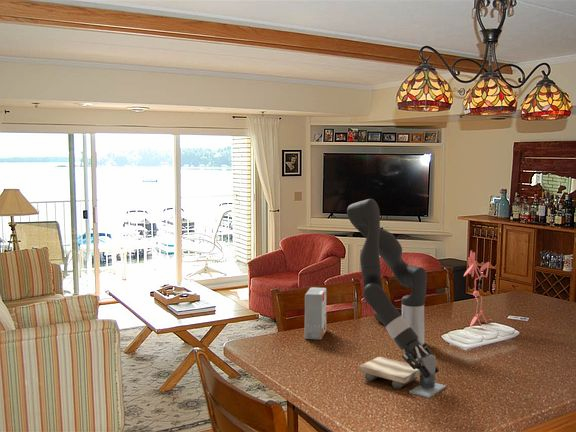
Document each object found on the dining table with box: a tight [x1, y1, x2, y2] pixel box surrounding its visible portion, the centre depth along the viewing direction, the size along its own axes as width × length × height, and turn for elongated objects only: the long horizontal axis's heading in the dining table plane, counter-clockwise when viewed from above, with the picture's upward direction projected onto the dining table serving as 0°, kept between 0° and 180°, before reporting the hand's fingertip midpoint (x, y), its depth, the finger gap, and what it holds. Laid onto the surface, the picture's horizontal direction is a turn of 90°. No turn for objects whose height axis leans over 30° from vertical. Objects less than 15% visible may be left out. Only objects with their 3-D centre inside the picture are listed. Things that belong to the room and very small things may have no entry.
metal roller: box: [419, 354, 437, 388], centre depth 196 cm, size 5×5×10 cm
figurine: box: [455, 250, 492, 329], centre depth 274 cm, size 15×26×35 cm, turn 148°
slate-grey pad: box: [409, 382, 447, 399], centre depth 197 cm, size 12×7×1 cm, turn 138°
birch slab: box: [358, 356, 420, 390], centre depth 205 cm, size 13×18×5 cm
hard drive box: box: [304, 286, 327, 341], centre depth 260 cm, size 16×8×20 cm, turn 168°
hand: (432, 374), depth 195 cm, fingers closed on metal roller, 5 cm apart
